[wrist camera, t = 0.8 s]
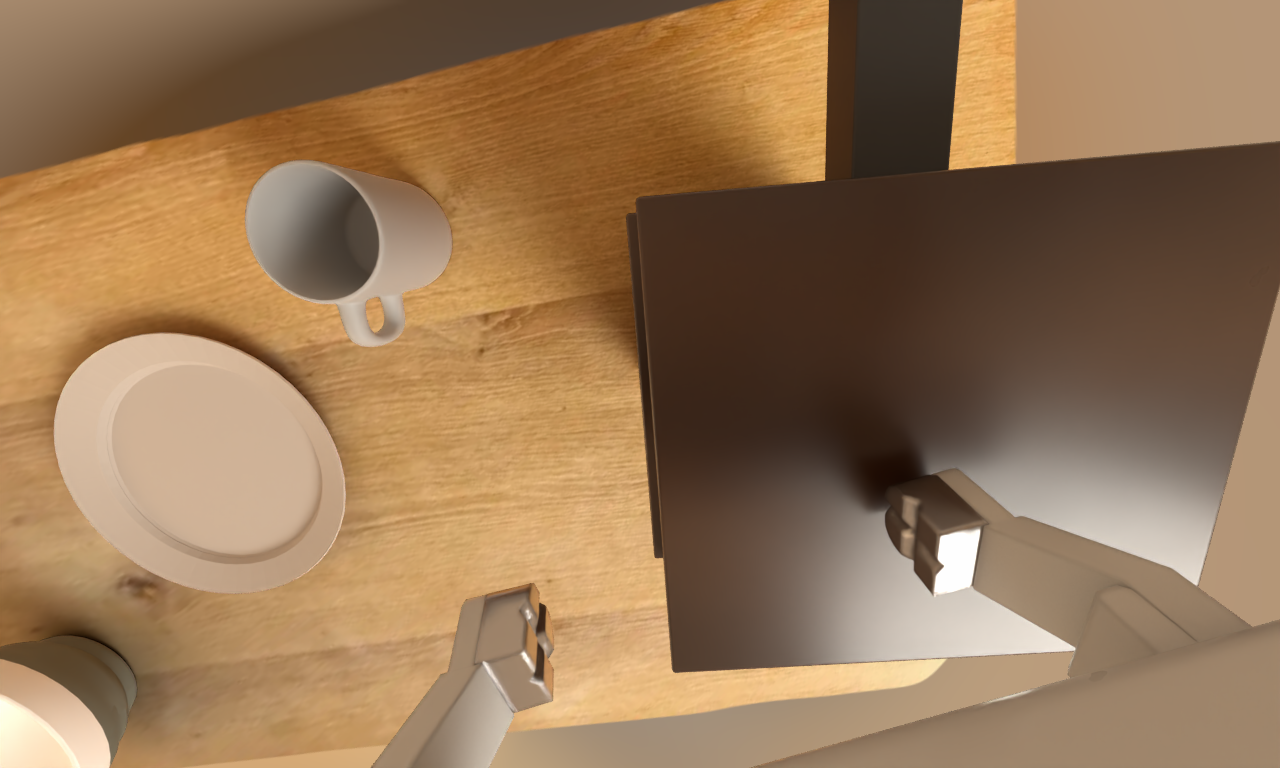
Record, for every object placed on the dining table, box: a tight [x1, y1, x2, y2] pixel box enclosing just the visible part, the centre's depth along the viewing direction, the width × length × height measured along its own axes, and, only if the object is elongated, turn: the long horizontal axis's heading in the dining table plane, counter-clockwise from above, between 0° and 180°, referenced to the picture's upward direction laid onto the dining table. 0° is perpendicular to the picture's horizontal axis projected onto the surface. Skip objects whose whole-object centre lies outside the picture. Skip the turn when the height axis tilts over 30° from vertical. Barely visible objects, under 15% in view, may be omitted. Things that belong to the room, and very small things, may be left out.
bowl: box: [0, 635, 137, 768], centre depth 48 cm, size 20×20×10 cm
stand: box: [626, 141, 1280, 673], centre depth 26 cm, size 12×14×31 cm
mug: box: [245, 160, 452, 347], centre depth 35 cm, size 12×8×11 cm
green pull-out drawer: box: [825, 0, 963, 181], centre depth 13 cm, size 22×10×2 cm, turn 5°
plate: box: [54, 332, 346, 594], centre depth 45 cm, size 26×26×2 cm
